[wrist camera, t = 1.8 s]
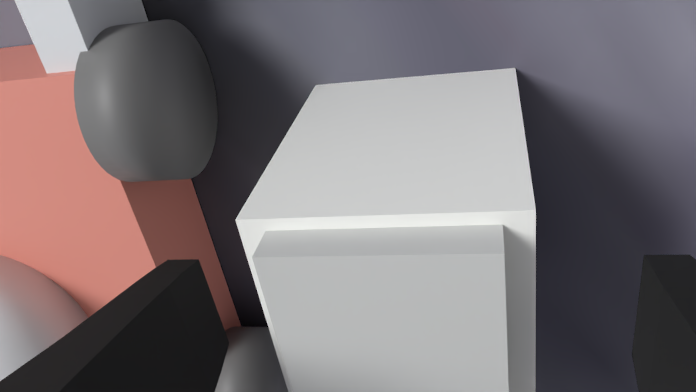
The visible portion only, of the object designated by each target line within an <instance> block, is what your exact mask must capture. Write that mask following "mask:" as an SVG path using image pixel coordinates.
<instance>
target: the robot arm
mask: <svg viewBox="0 0 696 392" xmlns="http://www.w3.org/2000/svg"><path fill="white" fill-rule="evenodd" d="M228 346H229V341H228V338H227V335H226V332H225V330H224V327H223V324H222V322H221V319H220V316H219V313H218V311H217V308H216V305H215V302H214V300H213V297H212V294H211V291H210V289H209V286H208V283H207V280H206V278H205V275H204V272H203V269H202V267H201V264H200V261H199V259H182V260H167V261H165V262H164V263H162V264H161V265H159V266H157V267H156V268H155V269H153V270H152V271H150V272H149V273H147V274H146V275H145V276H143V277H142V278H140V279H139V280H138V281H136V282H135V283H134V284H132V285H131V286H130V287H128V288H127V289H126V290H124V291H123V292H122V293H120V294H119V295H118V296H116V297H115V298H114V299H113V300H111V301H110V302H109V303H107V304H106V305H105V306H103V307H102V308H101V309H99V310H98V311H97V312H95V313H94V314H93V315H91V316H90V317H89V318H87V319H86V320H85V321H83V322H82V323H81V324H79V325H78V326H77V327H75V328H74V329H73V330H71V331H70V332H69V333H67V334H66V335H65V336H63V337H62V338H61V339H59V340H58V341H57V342H55V343H54V344H52V345H51V346H49V347H48V348H47V349H45V350H44V351H42V352H41V353H39V354H38V355H37V356H35V357H34V358H32V359H31V360H30V361H28V362H27V363H25V364H24V365H22V366H21V367H20V368H18V369H17V370H15V371H14V372H13V373H11V374H10V375H8V376H7V377H5V378H4V379H3V380H1V381H0V392H215V389H216V386H217V383H218V380H219V377H220V374H221V371H222V367H223V363H224V360H225V356H226V353H227V349H228ZM632 357H633V362H634V368H635V373H636V379H637V384H638V390H639V392H696V260H695V259H694V258H693V257H692V256H691V255H644V259H643V267H642V275H641V284H640V292H639V300H638V308H637V317H636V325H635V333H634V342H633V350H632Z"/></svg>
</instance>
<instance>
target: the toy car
mask: <svg viewBox="0 0 696 392" xmlns="http://www.w3.org/2000/svg"><path fill="white" fill-rule="evenodd" d="M15 2H16V4H17V7H18V9H19V11H20V14H21V16H22V18H23V20H24V23H25V25H26V27H27V30H28V32H29V34H30V36H31V39H32V41H33V43H34V44H33V45H25V46H16V47H7V48H0V381H1V380H3V379H4V378H5V377H7V376H8V375H10V374H11V373H13V372H14V371H15V370H17V369H18V368H20V367H21V366H22V365H24V364H25V363H27V362H28V361H30V360H31V359H32V358H34V357H35V356H37V355H38V354H39V353H41V352H42V351H44V350H45V349H47V348H48V347H49V346H51V345H52V344H54V343H55V342H57V341H58V340H59V339H61V338H62V337H63V336H65V335H66V334H67V333H69V332H70V331H71V330H73V329H74V328H75V327H77V326H78V325H79V324H81V323H82V322H83V321H85V320H86V319H87V318H89V317H90V316H91V315H93V314H94V313H95V312H97V311H98V310H99V309H101V308H102V307H103V306H105V305H106V304H107V303H109V302H110V301H111V300H113V299H114V298H115V297H116V296H118V295H119V294H120V293H122V292H123V291H124V290H126V289H127V288H128V287H130V286H131V285H132V284H134V283H135V282H136V281H138V280H139V279H140V278H142V277H143V276H145V275H146V274H147V273H149V272H150V271H152V270H153V269H155V268H156V267H157V266H159V265H161V264H162V263H164V262H165V261H167V260H182V259H199V261H200V264H201V267H202V269H203V272H204V275H205V278H206V280H207V283H208V286H209V289H210V291H211V294H212V297H213V300H214V302H215V305H216V308H217V311H218V313H219V316H220V319H221V322H222V324H223V327H224V330H225V332H226V335H227V338H228V341H229V346H228V349H227V353H226V356H225V360H224V363H223V367H222V371H221V374H220V377H219V380H218V383H217V386H216V389H215V392H288V389H287V386H286V383H285V379H284V376H283V373H282V370H281V367H280V363H279V360H278V357H277V354H276V350H275V347H274V344H273V341H272V337H271V334H270V331H269V328H268V327H241V324H240V321H239V318H238V315H237V312H236V309H235V306H234V304H233V301H232V298H231V295H230V292H229V289H228V286H227V283H226V280H225V277H224V274H223V271H222V268H221V265H220V263H219V260H218V257H217V254H216V251H215V248H214V245H213V242H212V239H211V236H210V233H209V230H208V227H207V224H206V221H205V219H204V216H203V213H202V210H201V207H200V204H199V201H198V198H197V195H196V192H195V189H194V186H193V183H192V180H191V178H193V177H196V176H197V175H198V174H200V173H201V172H202V171H203V170H204V168H205V167H206V165H207V164H208V162H209V160H210V157H211V155H212V152H213V149H214V145H215V140H216V133H217V119H218V117H217V99H216V92H215V86H214V81H213V77H212V73H211V70H210V67H209V64H208V61H207V59H206V56H205V54H204V52H203V50H202V48H201V46H200V44H199V43H198V41H197V40H196V38H195V37H194V35H193V34H192V33H191V32H190V31H189V30H188V29H187V28H186V27H185V26H184V25H183V24H181V23H179V22H177V21H174V20H170V19H165V20H156V21H148V19H147V16H146V13H145V10H144V7H143V3H142V0H15Z"/></svg>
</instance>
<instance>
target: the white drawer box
mask: <svg viewBox="0 0 696 392" xmlns="http://www.w3.org/2000/svg"><path fill="white" fill-rule="evenodd" d="M235 221H236V224H237V227H238V230H239V234H240V237H241V240H242V243H243V247H244V250H245V253H246V256H247V259H248V263H249V266H250V269H251V272H252V276H253V279H254V282H255V285H256V289H257V292H258V295H259V298H260V302H261V305H262V308H263V311H264V315H265V318H266V321H267V324H268V328H269V331H270V334H271V337H272V341H273V344H274V347H275V350H276V354H277V357H278V360H279V363H280V367H281V370H282V373H283V376H284V379H285V383H286V386H287V389H288V392H535V359H536V207H535V201H534V194H533V187H532V180H531V173H530V166H529V159H528V152H527V145H526V138H525V131H524V124H523V117H522V111H521V104H520V97H519V90H518V83H517V76H516V69H515V68H510V69H499V70H487V71H475V72H463V73H452V74H440V75H428V76H416V77H405V78H393V79H381V80H369V81H358V82H346V83H334V84H322V85H315V87H314V89H313V90H312V92H311V94H310V95H309V97H308V99H307V100H306V102H305V104H304V105H303V107H302V109H301V110H300V112H299V114H298V115H297V117H296V119H295V120H294V122H293V124H292V126H291V127H290V129H289V131H288V132H287V134H286V136H285V137H284V139H283V141H282V142H281V144H280V146H279V147H278V149H277V151H276V152H275V154H274V156H273V157H272V159H271V161H270V162H269V164H268V166H267V167H266V169H265V171H264V172H263V174H262V176H261V177H260V179H259V181H258V182H257V184H256V186H255V187H254V189H253V191H252V193H251V194H250V196H249V198H248V199H247V201H246V203H245V204H244V206H243V208H242V209H241V211H240V213H239V214H238V216H237V218H236V219H235Z"/></svg>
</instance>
